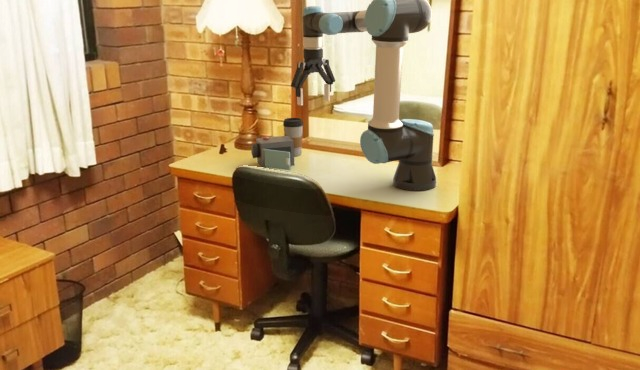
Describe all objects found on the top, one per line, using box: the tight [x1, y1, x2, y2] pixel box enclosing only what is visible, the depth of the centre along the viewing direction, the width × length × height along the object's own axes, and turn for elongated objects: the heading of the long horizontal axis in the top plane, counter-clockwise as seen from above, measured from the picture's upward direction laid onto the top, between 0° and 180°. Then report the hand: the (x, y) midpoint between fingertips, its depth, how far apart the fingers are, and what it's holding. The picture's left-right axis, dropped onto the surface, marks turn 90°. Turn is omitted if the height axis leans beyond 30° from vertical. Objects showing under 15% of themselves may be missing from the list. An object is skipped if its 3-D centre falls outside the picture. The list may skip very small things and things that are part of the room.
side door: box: [262, 148, 292, 171], centre depth 240 cm, size 12×2×7 cm, turn 63°
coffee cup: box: [282, 117, 304, 158], centre depth 261 cm, size 8×8×15 cm
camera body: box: [250, 135, 295, 169], centre depth 248 cm, size 9×16×11 cm, turn 108°
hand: (313, 102), depth 248 cm, fingers open, 13 cm apart
